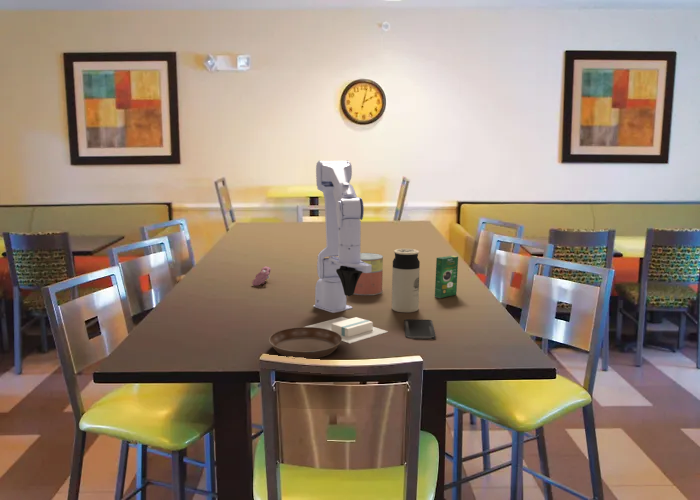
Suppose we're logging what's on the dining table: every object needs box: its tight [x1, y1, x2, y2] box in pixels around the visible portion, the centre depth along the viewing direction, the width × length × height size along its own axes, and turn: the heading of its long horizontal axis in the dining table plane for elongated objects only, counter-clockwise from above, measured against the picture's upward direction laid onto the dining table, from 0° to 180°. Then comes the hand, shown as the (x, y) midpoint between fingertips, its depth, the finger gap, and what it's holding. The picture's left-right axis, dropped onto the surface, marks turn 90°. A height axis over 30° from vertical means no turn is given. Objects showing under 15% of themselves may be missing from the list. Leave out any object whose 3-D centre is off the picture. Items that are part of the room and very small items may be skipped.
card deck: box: [331, 316, 374, 337], centre depth 165 cm, size 2×9×6 cm
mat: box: [304, 316, 389, 345], centre depth 167 cm, size 18×14×1 cm
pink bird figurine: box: [251, 266, 272, 287], centre depth 219 cm, size 10×5×7 cm, turn 1°
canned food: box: [354, 252, 384, 296], centre depth 208 cm, size 11×11×12 cm
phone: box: [403, 318, 437, 340], centre depth 167 cm, size 8×1×15 cm
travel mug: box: [391, 248, 421, 314], centre depth 185 cm, size 8×8×18 cm
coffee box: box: [434, 255, 459, 299], centre depth 202 cm, size 8×3×13 cm, turn 129°
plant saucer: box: [268, 326, 343, 359], centre depth 152 cm, size 18×18×3 cm
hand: (349, 295), depth 165 cm, fingers closed
